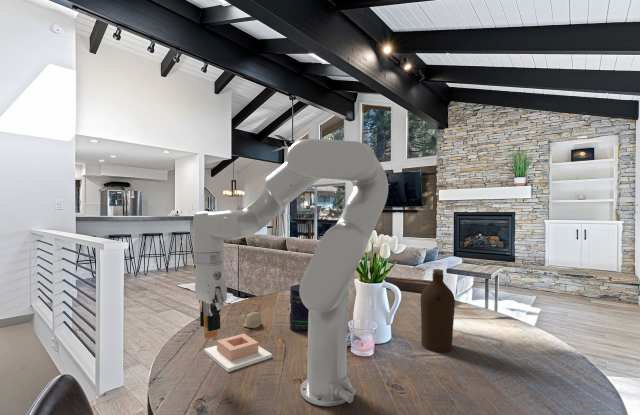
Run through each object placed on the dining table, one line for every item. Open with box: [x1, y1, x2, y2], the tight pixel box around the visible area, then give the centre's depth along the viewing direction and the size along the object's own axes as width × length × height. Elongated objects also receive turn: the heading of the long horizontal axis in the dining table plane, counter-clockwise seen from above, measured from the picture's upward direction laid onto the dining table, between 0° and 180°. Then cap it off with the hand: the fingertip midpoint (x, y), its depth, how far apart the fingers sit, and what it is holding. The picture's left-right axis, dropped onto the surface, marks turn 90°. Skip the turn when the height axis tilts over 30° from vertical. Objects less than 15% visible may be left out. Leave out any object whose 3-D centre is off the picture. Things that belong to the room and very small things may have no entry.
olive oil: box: [420, 268, 456, 353], centre depth 111 cm, size 11×11×25 cm
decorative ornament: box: [241, 311, 263, 329], centre depth 126 cm, size 4×8×5 cm, turn 127°
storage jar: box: [289, 284, 309, 334], centre depth 125 cm, size 10×10×15 cm
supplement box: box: [203, 300, 218, 339], centre depth 89 cm, size 3×3×10 cm
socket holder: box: [203, 333, 273, 373], centre depth 102 cm, size 16×14×4 cm
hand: (210, 326), depth 89 cm, fingers closed on supplement box, 3 cm apart
